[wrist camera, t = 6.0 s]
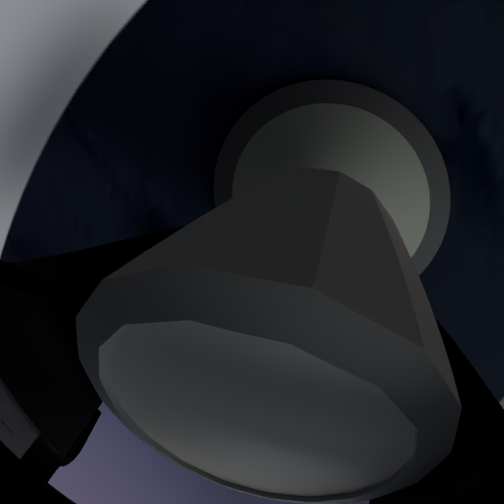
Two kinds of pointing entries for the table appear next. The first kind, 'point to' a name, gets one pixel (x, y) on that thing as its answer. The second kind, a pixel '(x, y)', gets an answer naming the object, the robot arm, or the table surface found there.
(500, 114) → the table surface
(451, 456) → the robot arm
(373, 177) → the grey round disc
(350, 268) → the shot glass
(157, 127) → the table surface
